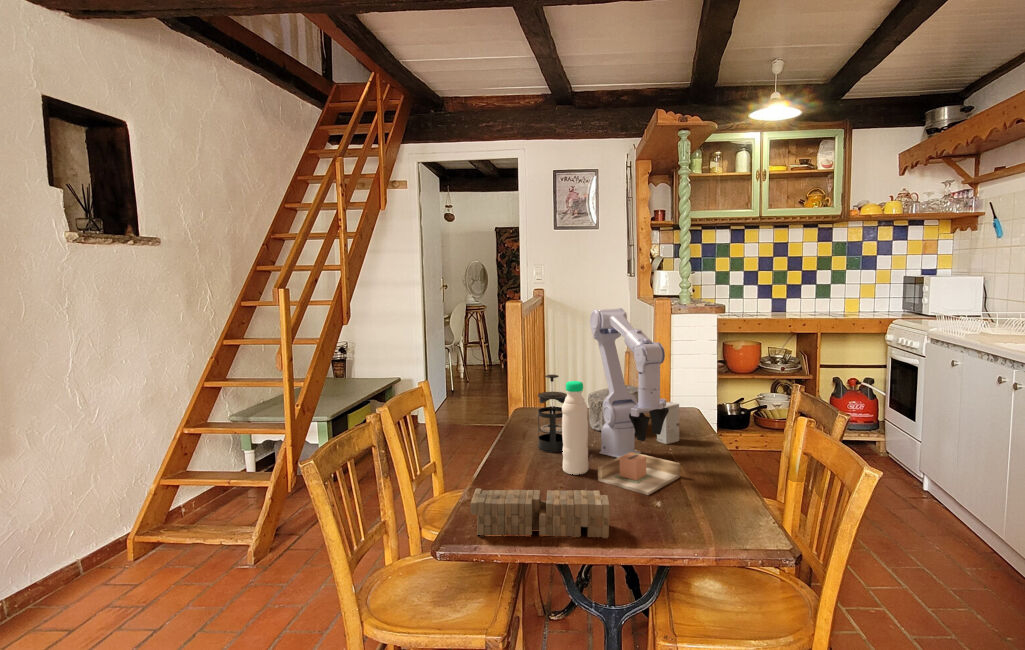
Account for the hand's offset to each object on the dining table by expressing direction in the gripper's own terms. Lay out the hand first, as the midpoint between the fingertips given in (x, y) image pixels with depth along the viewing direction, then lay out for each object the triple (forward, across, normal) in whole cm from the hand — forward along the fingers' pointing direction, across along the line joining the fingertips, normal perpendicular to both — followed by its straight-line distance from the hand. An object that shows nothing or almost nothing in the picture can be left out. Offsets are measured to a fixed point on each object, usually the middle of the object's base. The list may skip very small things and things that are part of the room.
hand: (648, 437), depth 163 cm
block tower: (+10, -46, -2) cm, 47 cm away
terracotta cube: (+8, -8, 0) cm, 12 cm away
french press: (+10, -1, +34) cm, 35 cm away
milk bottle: (+10, -13, +15) cm, 22 cm away
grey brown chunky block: (+10, +29, +31) cm, 44 cm away
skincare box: (+10, +27, +10) cm, 31 cm away
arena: (+10, -6, -1) cm, 12 cm away
